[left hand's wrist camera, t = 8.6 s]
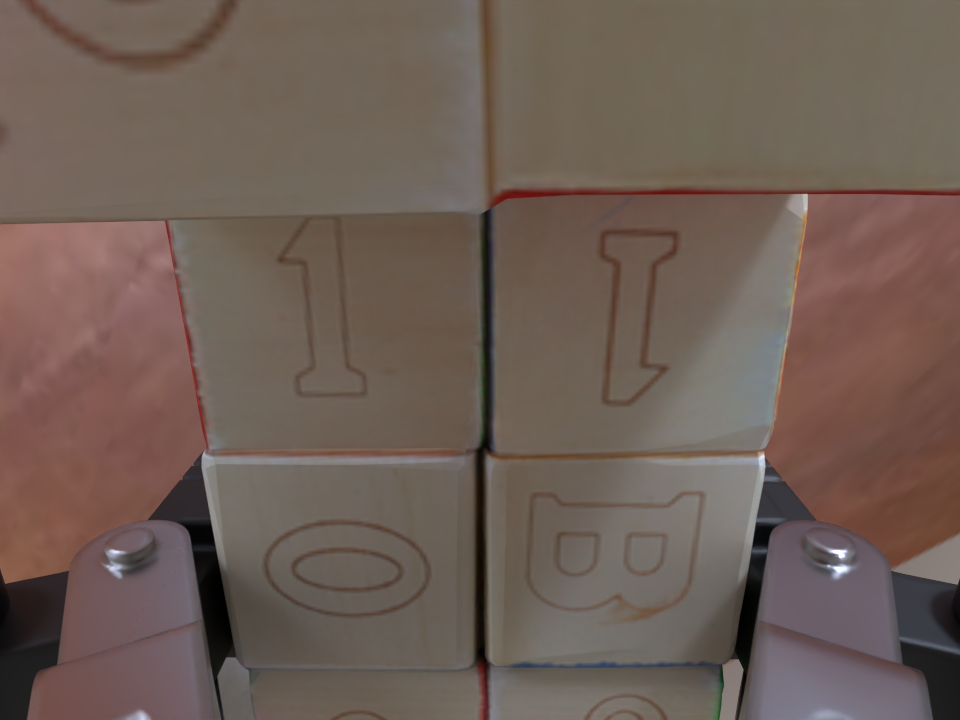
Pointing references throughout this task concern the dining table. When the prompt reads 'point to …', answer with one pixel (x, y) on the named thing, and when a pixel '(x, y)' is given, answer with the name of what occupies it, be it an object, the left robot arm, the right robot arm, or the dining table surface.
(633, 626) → the stack of blocks
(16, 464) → the dining table surface
